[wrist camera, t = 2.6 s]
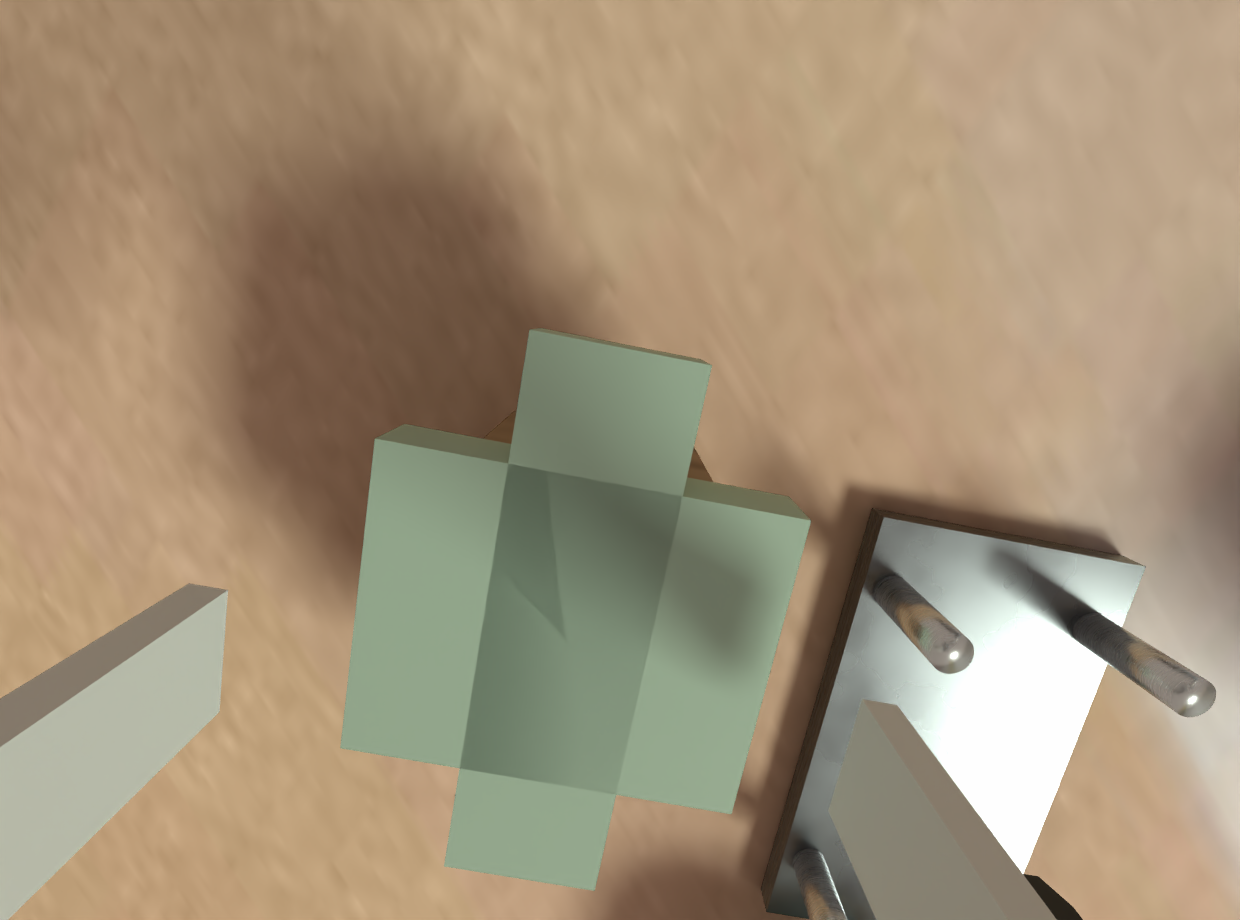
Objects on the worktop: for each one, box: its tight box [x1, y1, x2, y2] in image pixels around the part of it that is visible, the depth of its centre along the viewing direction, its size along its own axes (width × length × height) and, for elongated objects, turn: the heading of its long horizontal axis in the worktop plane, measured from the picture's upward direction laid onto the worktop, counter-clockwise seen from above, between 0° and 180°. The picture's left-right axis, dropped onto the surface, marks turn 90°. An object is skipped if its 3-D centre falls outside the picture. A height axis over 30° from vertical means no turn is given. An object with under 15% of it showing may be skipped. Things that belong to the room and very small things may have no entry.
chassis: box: [761, 508, 1216, 920], centre depth 21 cm, size 16×9×5 cm, turn 169°
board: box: [341, 328, 811, 891], centre depth 16 cm, size 14×10×2 cm
